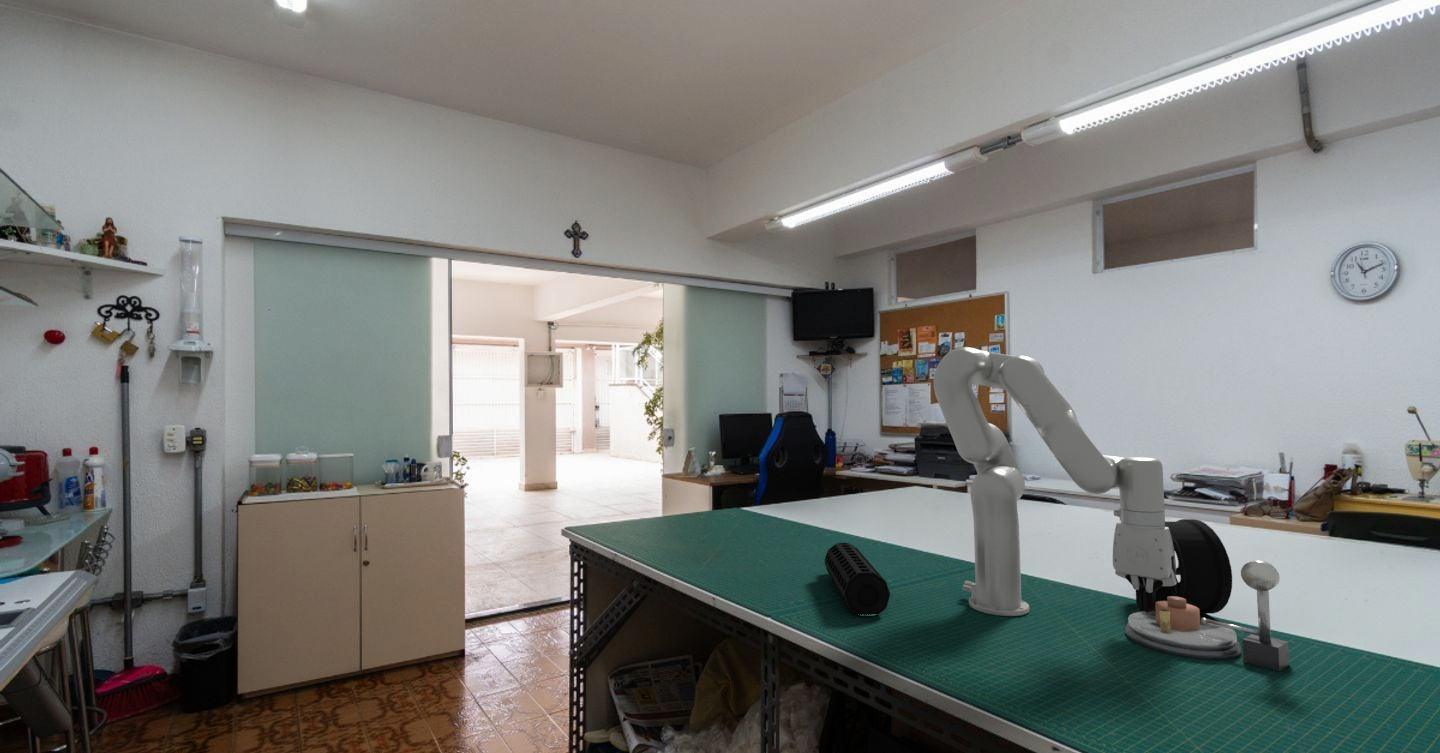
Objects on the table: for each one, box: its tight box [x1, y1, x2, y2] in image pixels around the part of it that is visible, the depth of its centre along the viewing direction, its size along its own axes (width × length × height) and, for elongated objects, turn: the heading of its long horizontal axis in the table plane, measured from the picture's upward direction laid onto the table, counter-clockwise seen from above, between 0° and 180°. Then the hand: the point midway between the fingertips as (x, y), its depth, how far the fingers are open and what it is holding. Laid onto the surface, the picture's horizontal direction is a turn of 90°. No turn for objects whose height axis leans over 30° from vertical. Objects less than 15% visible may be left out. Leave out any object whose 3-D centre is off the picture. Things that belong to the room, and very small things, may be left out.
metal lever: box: [1201, 559, 1290, 673], centre depth 116 cm, size 12×5×18 cm, turn 34°
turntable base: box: [1125, 622, 1242, 661], centre depth 123 cm, size 18×18×1 cm
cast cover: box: [1155, 596, 1201, 631], centre depth 124 cm, size 7×7×5 cm
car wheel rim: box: [1144, 518, 1233, 614], centre depth 141 cm, size 20×10×20 cm, turn 175°
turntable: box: [1127, 609, 1238, 650], centre depth 123 cm, size 17×17×6 cm
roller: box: [824, 542, 891, 615], centre depth 158 cm, size 38×10×10 cm, turn 179°
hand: (1146, 610), depth 128 cm, fingers closed
